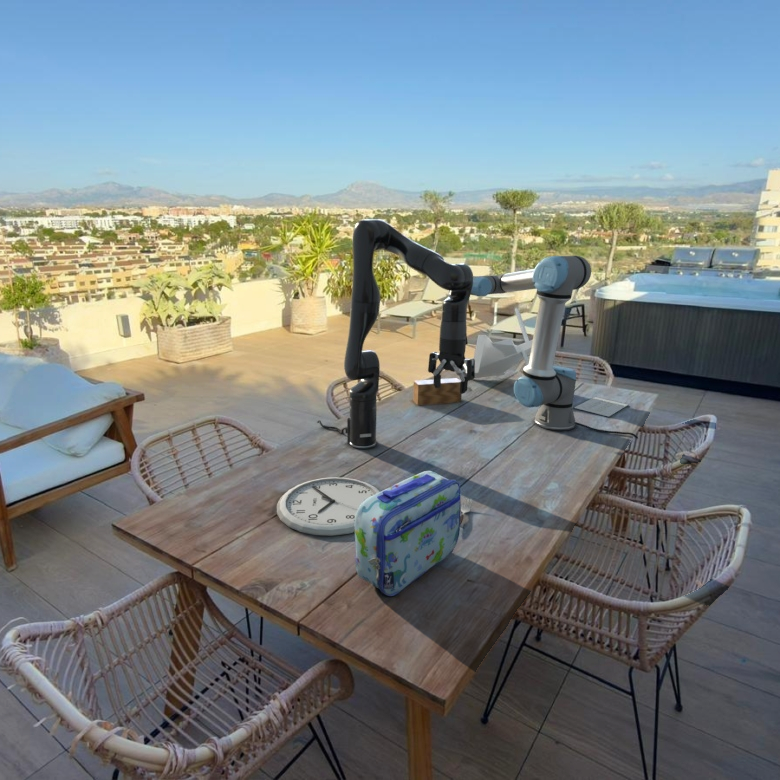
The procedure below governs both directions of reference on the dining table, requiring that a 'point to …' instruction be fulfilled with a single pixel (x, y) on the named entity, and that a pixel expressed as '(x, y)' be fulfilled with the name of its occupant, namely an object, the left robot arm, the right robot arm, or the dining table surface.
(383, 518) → the lunch box
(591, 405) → the invitation card
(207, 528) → the dining table surface
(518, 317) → the white plastic object
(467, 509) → the fork
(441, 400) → the box
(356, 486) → the wall clock
